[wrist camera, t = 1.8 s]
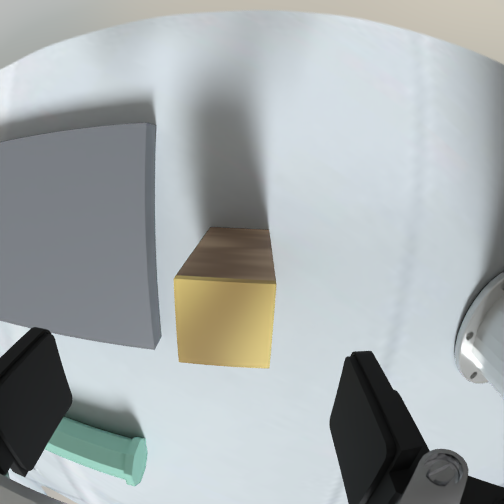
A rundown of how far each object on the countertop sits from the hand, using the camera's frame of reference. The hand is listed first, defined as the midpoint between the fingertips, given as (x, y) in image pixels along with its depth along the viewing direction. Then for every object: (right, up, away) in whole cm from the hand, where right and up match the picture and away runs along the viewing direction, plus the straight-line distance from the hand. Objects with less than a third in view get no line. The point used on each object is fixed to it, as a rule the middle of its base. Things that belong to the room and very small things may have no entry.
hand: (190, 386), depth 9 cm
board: (-14, +5, +13) cm, 20 cm away
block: (+1, +4, +14) cm, 14 cm away
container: (-22, -15, +20) cm, 33 cm away
